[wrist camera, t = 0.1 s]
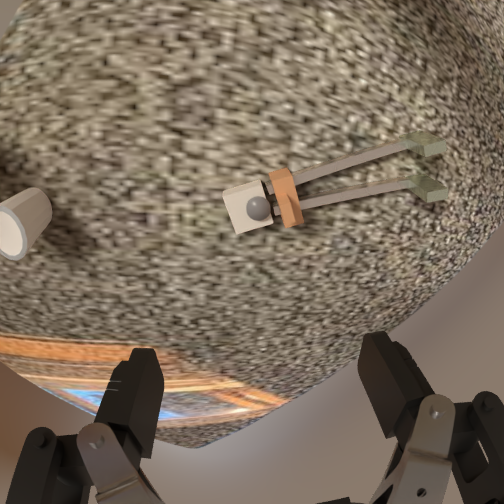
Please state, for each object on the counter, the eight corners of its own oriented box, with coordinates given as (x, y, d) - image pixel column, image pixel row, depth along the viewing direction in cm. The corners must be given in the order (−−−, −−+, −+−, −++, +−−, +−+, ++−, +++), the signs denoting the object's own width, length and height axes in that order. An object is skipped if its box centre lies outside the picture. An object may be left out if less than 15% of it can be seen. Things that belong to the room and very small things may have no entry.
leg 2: (274, 213, 32) (280, 235, 27) (271, 202, 31) (278, 223, 27) (424, 182, 30) (447, 198, 26) (424, 172, 30) (448, 187, 25)
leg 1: (268, 190, 30) (274, 209, 26) (263, 180, 30) (269, 196, 25) (421, 140, 28) (446, 151, 23) (419, 130, 27) (445, 139, 23)
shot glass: (56, 187, 28) (24, 212, 22) (56, 236, 31) (30, 267, 25) (16, 178, 27) (-17, 201, 21) (19, 226, 30) (-10, 253, 24)
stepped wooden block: (281, 216, 32) (289, 239, 28) (268, 172, 29) (274, 189, 25) (298, 211, 32) (309, 233, 27) (287, 167, 29) (297, 183, 25)
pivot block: (236, 226, 32) (236, 237, 30) (223, 190, 30) (222, 199, 28) (273, 215, 32) (276, 225, 30) (261, 178, 30) (264, 186, 28)
